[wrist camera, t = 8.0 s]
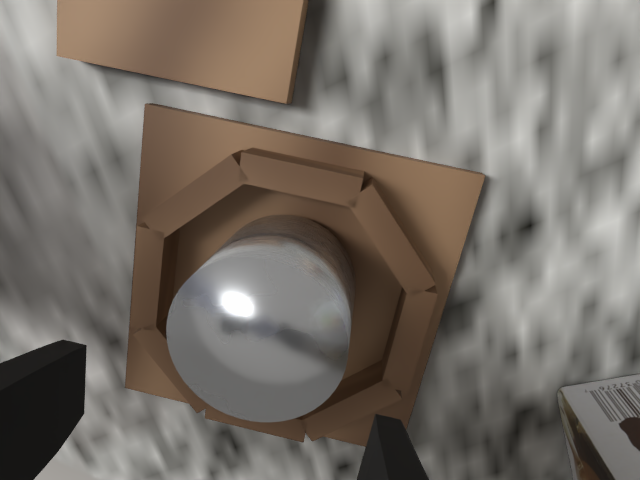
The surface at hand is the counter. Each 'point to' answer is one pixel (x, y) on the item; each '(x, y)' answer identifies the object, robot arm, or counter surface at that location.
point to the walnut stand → (191, 41)
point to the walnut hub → (322, 208)
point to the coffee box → (602, 428)
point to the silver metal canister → (266, 320)
